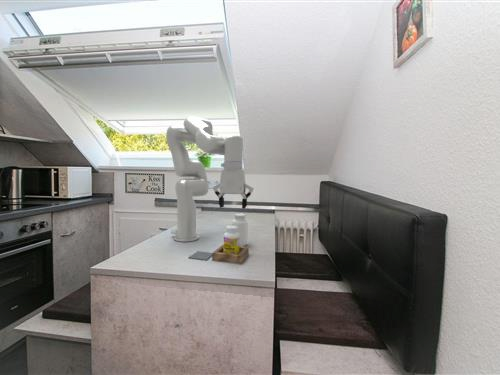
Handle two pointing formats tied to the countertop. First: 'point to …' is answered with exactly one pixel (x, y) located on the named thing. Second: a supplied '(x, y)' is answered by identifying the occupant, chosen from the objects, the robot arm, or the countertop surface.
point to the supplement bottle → (231, 240)
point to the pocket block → (230, 255)
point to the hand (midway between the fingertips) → (232, 207)
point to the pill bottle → (241, 228)
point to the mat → (201, 255)
